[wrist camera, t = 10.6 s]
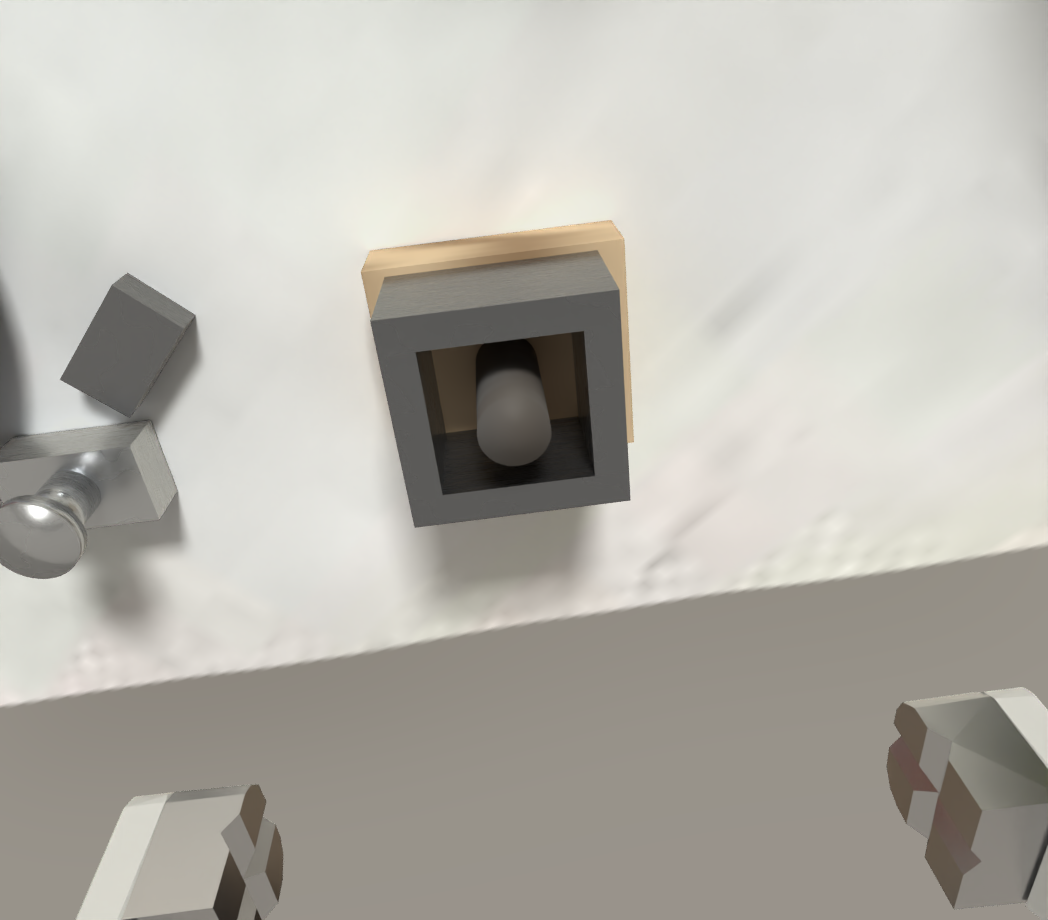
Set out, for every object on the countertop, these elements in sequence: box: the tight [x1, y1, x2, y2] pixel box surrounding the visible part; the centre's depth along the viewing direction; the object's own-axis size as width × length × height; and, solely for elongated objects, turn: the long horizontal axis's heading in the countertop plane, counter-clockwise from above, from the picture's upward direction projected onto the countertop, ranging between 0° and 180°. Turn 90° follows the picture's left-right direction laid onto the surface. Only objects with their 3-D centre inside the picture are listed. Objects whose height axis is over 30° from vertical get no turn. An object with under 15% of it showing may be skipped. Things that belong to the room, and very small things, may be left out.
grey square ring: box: [370, 250, 630, 527], centre depth 24 cm, size 6×6×4 cm
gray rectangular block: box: [60, 273, 195, 418], centre depth 27 cm, size 4×2×2 cm, turn 142°
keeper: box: [361, 220, 634, 466], centre depth 24 cm, size 8×7×8 cm
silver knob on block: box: [0, 420, 177, 579], centre depth 27 cm, size 5×3×5 cm, turn 96°
